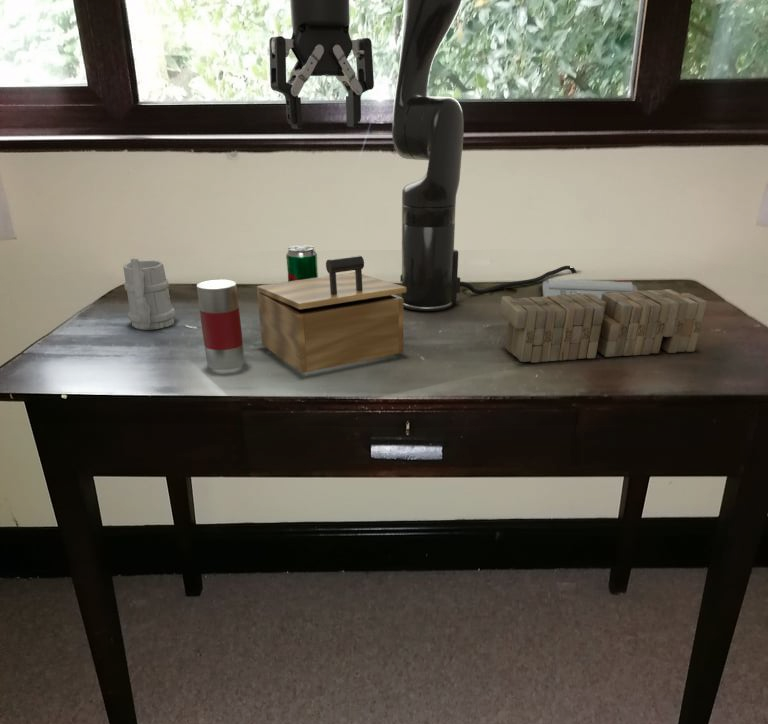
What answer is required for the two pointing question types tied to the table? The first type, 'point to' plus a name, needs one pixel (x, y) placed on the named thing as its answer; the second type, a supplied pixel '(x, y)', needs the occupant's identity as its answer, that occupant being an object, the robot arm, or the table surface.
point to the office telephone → (585, 287)
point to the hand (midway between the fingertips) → (325, 127)
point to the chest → (332, 331)
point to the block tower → (602, 324)
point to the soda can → (301, 263)
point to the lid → (332, 286)
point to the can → (221, 324)
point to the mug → (148, 295)
